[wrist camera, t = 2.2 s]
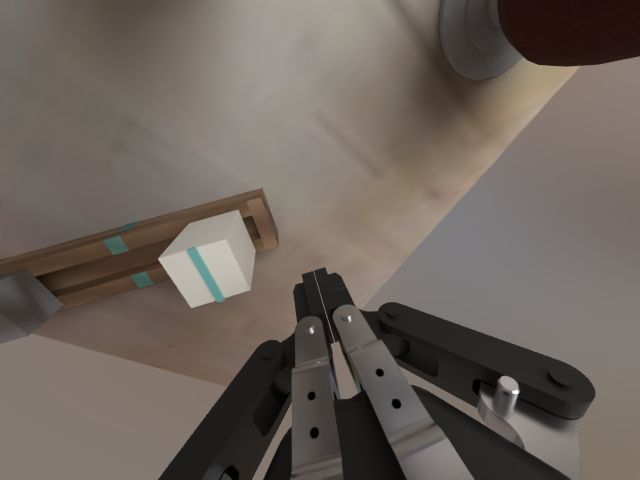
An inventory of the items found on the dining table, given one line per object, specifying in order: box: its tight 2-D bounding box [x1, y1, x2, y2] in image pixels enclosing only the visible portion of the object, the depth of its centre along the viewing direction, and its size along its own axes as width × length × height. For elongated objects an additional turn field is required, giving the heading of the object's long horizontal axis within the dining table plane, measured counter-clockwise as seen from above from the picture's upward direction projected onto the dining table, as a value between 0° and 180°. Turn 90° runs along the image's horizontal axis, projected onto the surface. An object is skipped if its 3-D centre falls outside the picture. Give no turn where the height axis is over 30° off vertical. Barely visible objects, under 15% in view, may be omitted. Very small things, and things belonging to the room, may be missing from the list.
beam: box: [0, 188, 279, 344], centre depth 23 cm, size 6×30×8 cm, turn 103°
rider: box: [158, 210, 256, 308], centre depth 22 cm, size 5×5×9 cm
